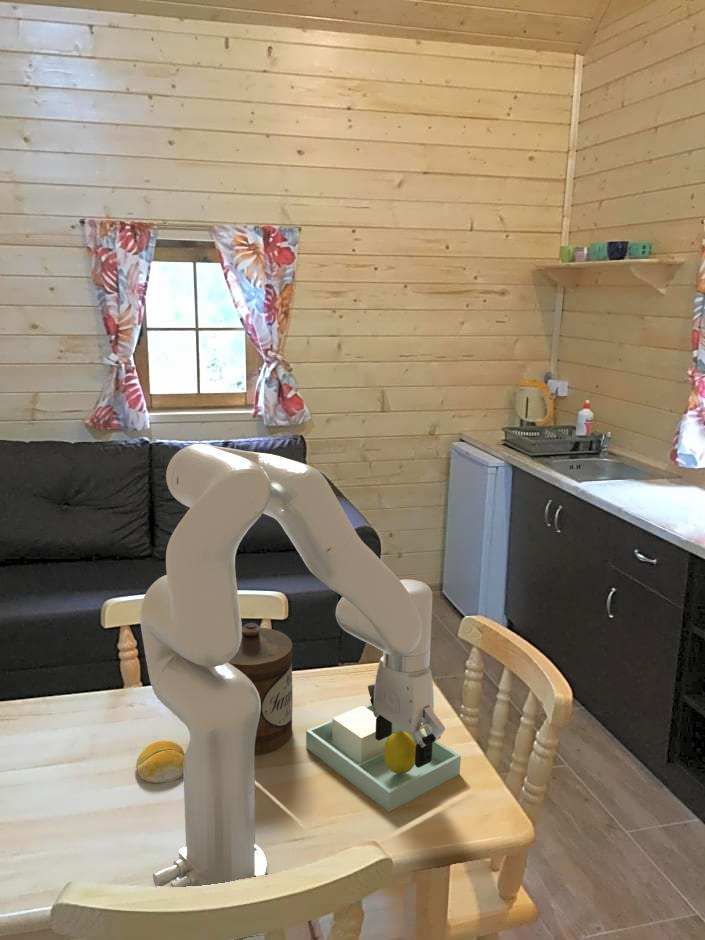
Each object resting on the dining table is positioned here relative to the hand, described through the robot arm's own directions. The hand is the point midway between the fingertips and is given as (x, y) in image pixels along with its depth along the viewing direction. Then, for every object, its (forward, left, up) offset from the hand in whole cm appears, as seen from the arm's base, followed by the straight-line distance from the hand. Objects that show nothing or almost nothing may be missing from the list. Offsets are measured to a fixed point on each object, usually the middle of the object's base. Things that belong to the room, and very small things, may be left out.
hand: (402, 750), depth 133 cm
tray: (0, +5, -5) cm, 7 cm away
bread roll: (-30, +27, -6) cm, 41 cm away
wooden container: (-13, +26, -6) cm, 30 cm away
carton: (0, +11, -5) cm, 12 cm away
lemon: (0, 0, -5) cm, 5 cm away
